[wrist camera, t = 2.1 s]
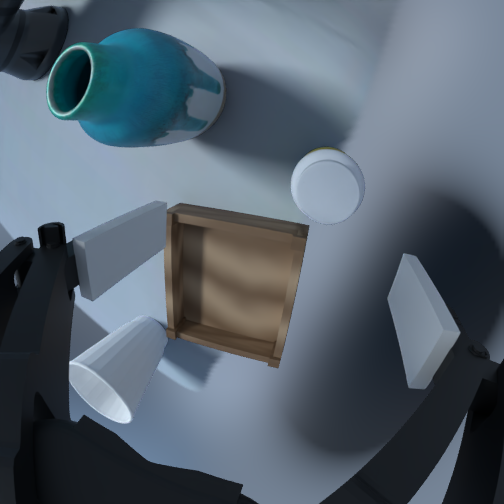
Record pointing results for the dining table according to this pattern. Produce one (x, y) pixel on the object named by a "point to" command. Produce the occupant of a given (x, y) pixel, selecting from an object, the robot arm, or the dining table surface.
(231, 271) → the crate
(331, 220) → the pill bottle
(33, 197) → the dining table surface
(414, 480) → the robot arm
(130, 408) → the cup
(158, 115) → the vase
